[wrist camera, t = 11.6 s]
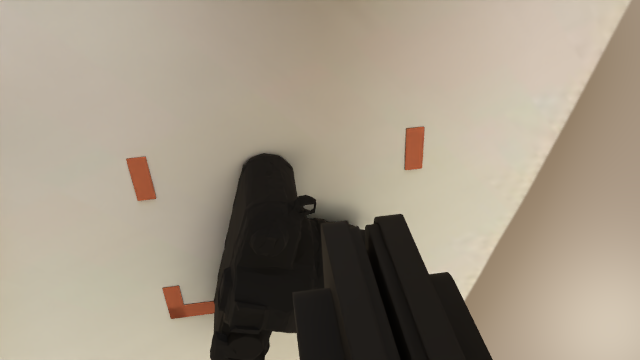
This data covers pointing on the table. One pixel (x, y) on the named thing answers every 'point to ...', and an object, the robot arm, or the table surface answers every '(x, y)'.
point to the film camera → (265, 260)
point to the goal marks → (146, 192)
